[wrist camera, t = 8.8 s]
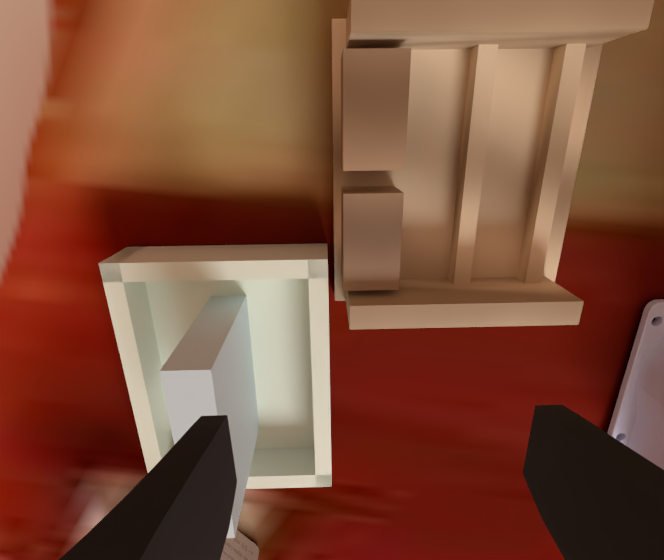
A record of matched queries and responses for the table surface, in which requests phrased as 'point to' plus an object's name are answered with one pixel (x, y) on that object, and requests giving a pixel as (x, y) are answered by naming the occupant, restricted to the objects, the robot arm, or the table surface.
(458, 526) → the table surface
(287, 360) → the tray
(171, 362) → the block
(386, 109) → the offcut
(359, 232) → the offcut
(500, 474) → the table surface
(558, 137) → the rack
